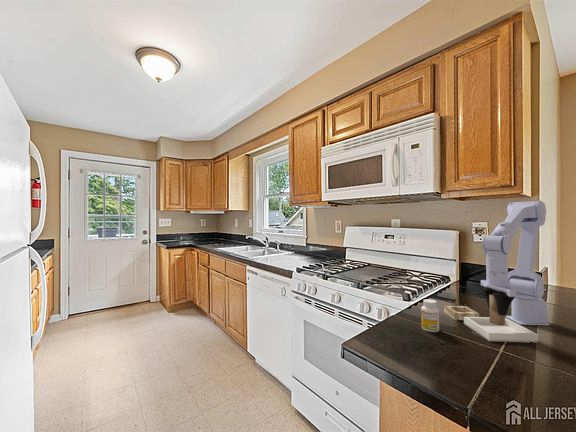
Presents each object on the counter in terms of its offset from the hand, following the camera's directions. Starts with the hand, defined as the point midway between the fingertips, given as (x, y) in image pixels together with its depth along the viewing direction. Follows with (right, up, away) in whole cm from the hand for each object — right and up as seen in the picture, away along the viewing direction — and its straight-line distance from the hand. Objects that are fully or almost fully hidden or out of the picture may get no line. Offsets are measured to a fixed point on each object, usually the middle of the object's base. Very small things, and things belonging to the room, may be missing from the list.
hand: (497, 312), depth 90 cm
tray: (0, -7, 0) cm, 6 cm away
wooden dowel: (0, -3, 0) cm, 3 cm away
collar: (-3, -7, +15) cm, 17 cm away
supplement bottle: (-21, -7, +3) cm, 22 cm away
